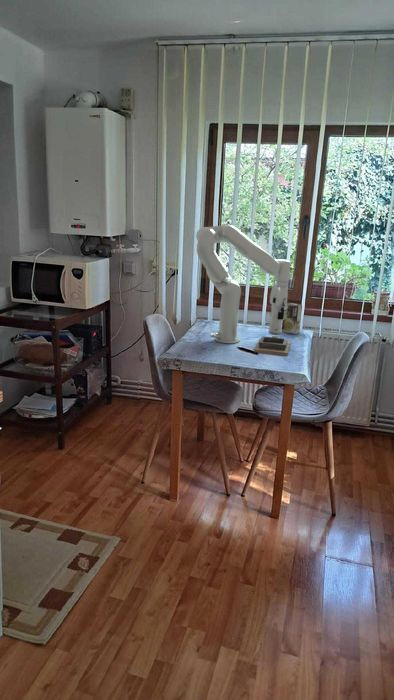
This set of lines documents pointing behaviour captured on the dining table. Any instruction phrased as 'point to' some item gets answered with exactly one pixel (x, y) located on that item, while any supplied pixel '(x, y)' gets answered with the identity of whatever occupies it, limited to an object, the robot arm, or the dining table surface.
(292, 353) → the dining table surface
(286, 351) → the pocket board
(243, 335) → the dining table surface
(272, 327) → the travel mug
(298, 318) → the coffee box
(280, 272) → the robot arm
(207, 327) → the dining table surface
